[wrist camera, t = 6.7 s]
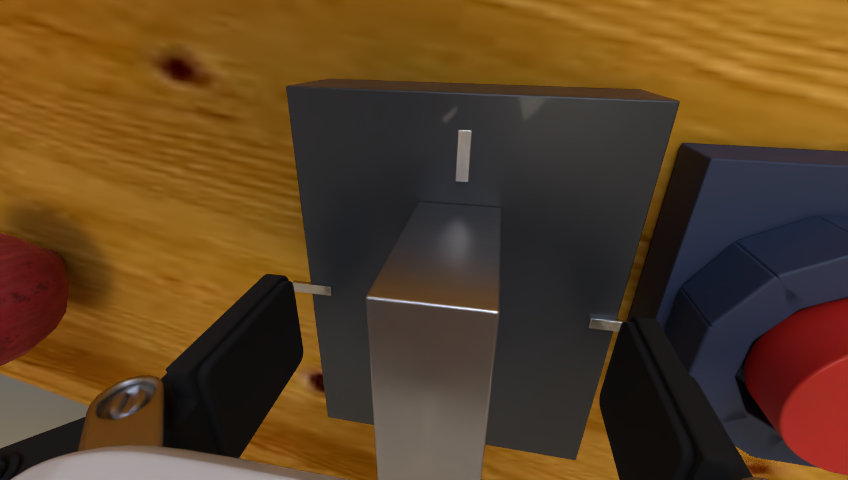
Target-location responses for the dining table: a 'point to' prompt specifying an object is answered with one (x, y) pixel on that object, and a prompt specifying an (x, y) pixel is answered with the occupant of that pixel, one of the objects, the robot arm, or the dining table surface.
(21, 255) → the onion
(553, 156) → the panel
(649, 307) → the button box
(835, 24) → the dining table surface
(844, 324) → the button
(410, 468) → the tap handle
